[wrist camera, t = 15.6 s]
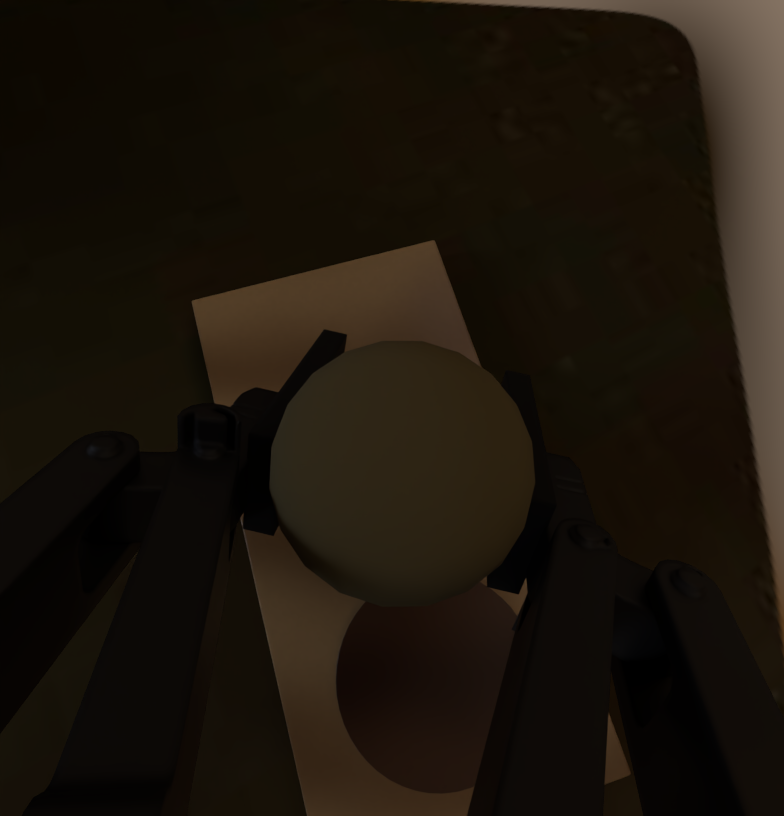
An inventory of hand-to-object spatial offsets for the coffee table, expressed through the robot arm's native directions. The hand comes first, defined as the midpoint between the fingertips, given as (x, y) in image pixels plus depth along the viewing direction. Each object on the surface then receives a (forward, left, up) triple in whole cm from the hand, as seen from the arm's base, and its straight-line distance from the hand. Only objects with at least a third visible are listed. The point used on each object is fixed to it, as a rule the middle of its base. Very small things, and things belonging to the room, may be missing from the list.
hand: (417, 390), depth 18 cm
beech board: (+3, -2, -6) cm, 7 cm away
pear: (+3, -2, -3) cm, 5 cm away
